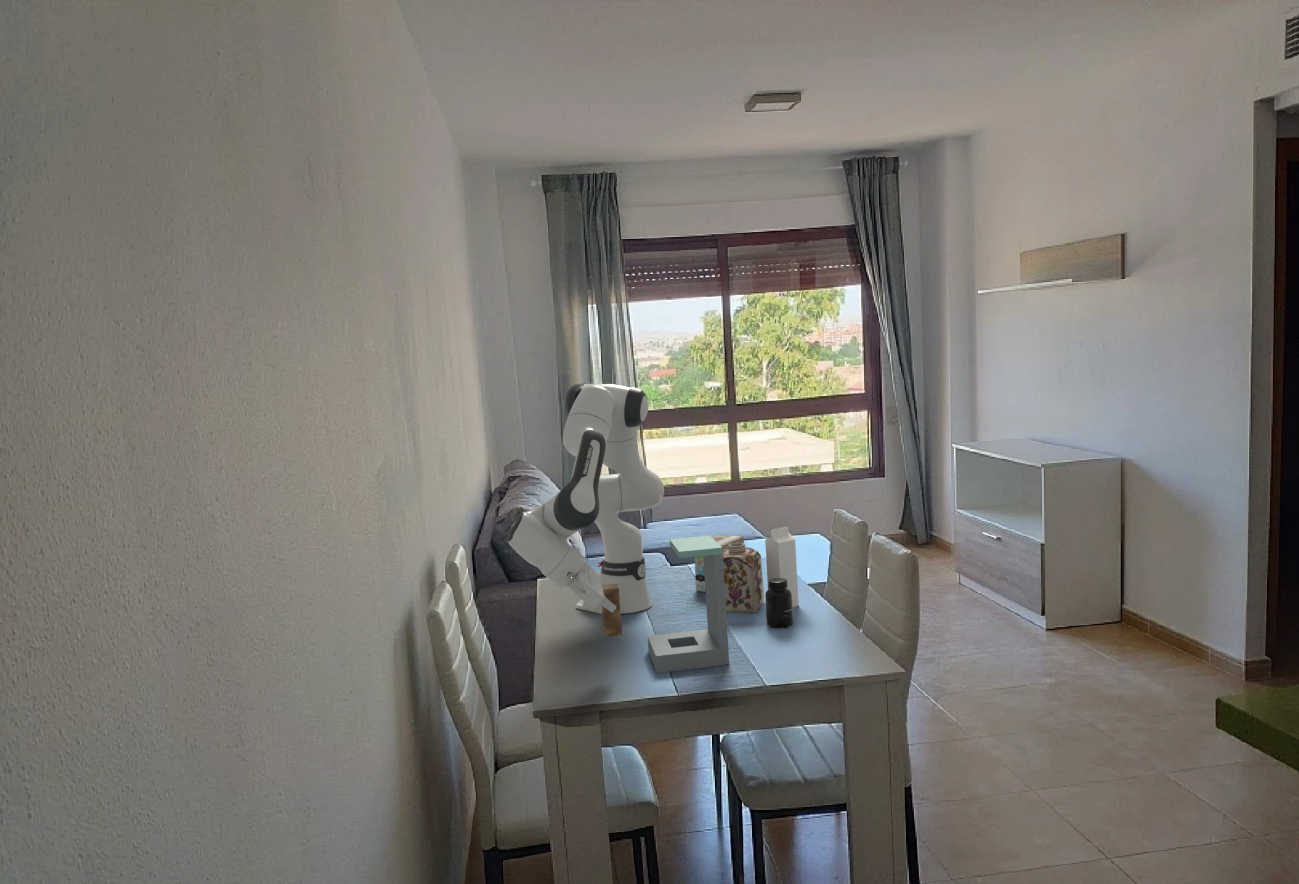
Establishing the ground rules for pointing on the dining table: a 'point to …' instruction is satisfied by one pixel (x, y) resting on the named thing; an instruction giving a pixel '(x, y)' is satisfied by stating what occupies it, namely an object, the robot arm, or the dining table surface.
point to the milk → (782, 560)
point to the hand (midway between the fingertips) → (613, 605)
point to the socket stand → (711, 642)
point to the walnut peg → (612, 618)
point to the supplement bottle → (778, 604)
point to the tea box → (699, 562)
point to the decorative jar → (742, 579)
